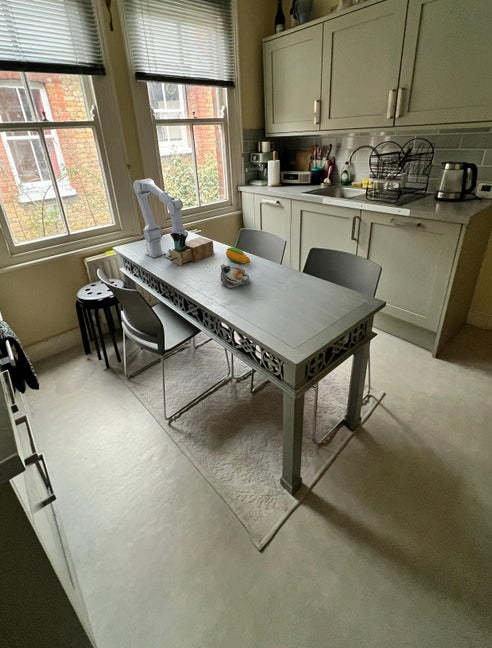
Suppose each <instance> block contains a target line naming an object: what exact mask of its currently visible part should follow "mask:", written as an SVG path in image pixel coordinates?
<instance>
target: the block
mask: <svg viewBox="0 0 492 648" xmlns="http://www.w3.org/2000/svg"><path fill="white" fill-rule="evenodd" d="M173 244H174V245H173V246H174V248H175V249H177V250H182V249H185V248H186V244H185V247H181V245H180V241H179V240H176V241H174V240H173Z"/></svg>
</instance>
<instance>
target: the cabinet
mask: <svg viewBox="0 0 492 648" xmlns="http://www.w3.org/2000/svg"><path fill="white" fill-rule="evenodd" d="M185 244H186V247H189V248H192V249H193V257H194V259H193V260H191V262H193V263H196V262H200V261H202V260H204V259H206V258H209V257H212V256H215V253H214V241H213V240H212V239H208V238H205V237H201V236H199V237H197V238H193V239H190V240H186V241H185Z"/></svg>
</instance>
